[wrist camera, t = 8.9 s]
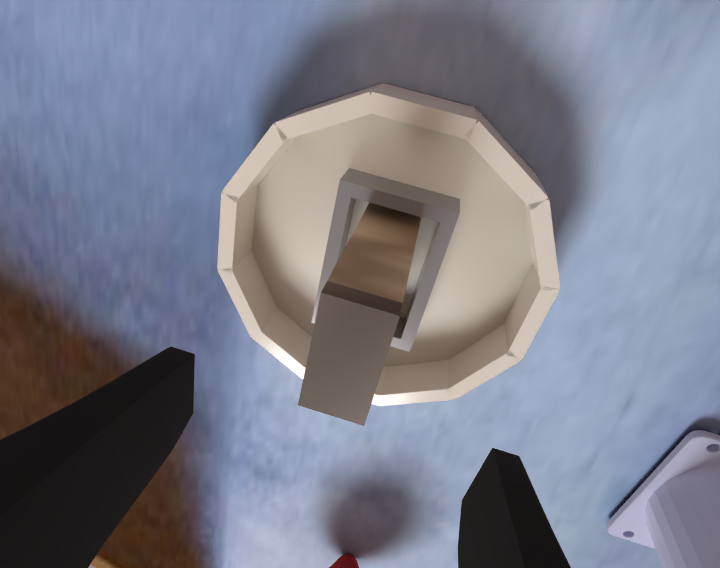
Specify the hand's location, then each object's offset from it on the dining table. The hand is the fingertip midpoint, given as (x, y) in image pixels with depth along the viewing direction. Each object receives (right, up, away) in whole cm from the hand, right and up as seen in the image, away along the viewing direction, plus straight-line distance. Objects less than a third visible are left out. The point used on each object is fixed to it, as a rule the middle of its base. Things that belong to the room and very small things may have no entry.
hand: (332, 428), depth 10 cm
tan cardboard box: (+2, +5, +7) cm, 9 cm away
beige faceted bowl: (+2, +5, +8) cm, 9 cm away
